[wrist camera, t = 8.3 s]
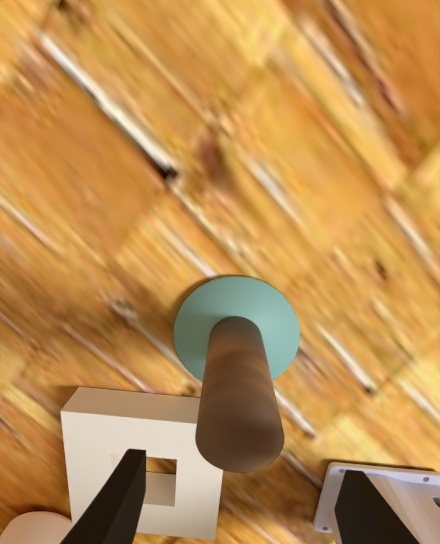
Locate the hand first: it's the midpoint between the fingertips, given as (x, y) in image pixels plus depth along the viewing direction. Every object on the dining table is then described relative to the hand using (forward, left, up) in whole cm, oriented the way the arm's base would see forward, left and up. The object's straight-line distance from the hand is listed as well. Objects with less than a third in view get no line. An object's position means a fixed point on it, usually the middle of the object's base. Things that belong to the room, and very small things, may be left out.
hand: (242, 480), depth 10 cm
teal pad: (0, 0, -10) cm, 10 cm away
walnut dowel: (0, 0, -10) cm, 10 cm away
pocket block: (+6, +12, -10) cm, 17 cm away
